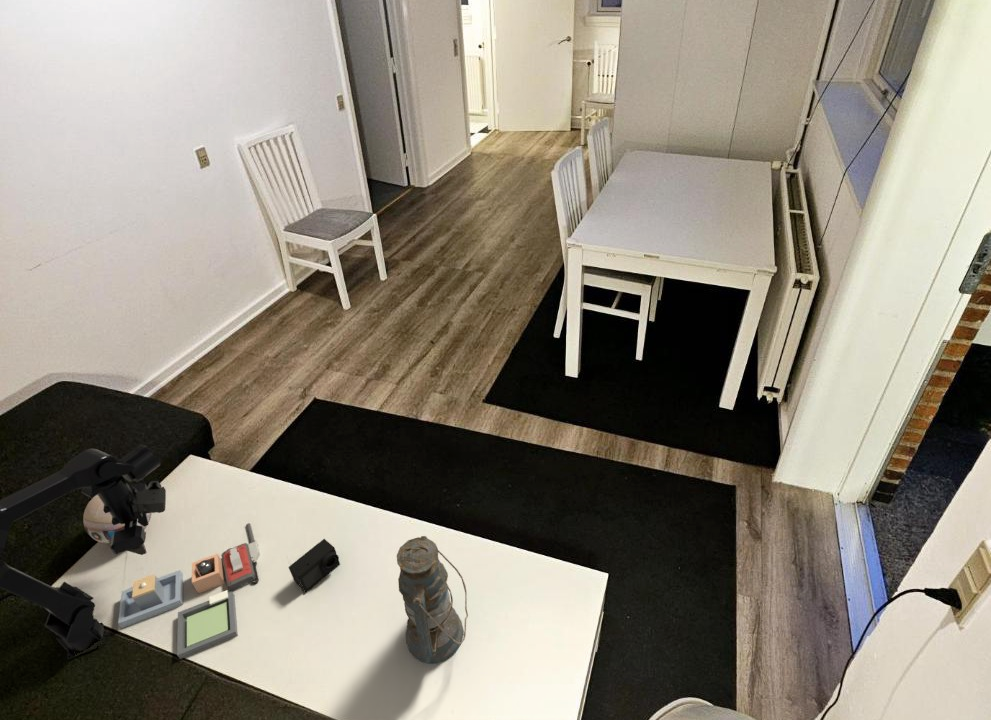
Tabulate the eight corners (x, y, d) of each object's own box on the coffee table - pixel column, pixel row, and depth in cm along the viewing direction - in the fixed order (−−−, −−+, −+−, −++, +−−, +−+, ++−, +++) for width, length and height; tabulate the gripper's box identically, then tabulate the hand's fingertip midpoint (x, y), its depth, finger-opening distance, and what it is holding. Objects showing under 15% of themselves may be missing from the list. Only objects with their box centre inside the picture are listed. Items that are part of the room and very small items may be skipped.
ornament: (96, 529, 155) (69, 492, 146) (155, 502, 162) (132, 465, 153) (103, 566, 145) (74, 529, 136) (165, 536, 152) (142, 498, 143)
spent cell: (205, 585, 138) (196, 570, 135) (205, 576, 140) (196, 561, 137) (217, 580, 139) (209, 566, 136) (217, 571, 141) (208, 557, 138)
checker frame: (181, 660, 124) (176, 654, 122) (181, 615, 132) (177, 609, 131) (238, 636, 127) (234, 630, 126) (235, 594, 136) (231, 588, 135)
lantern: (410, 595, 133) (390, 511, 116) (471, 592, 133) (459, 508, 116) (401, 681, 118) (375, 599, 100) (469, 678, 117) (456, 595, 100)
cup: (199, 594, 137) (191, 582, 134) (198, 575, 141) (191, 563, 138) (225, 584, 139) (218, 572, 136) (224, 565, 143) (217, 553, 140)
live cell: (142, 611, 133) (131, 596, 129) (144, 596, 137) (132, 580, 133) (163, 604, 135) (152, 588, 131) (164, 588, 138) (153, 573, 134)
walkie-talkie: (268, 581, 139) (253, 525, 154) (263, 570, 137) (248, 514, 151) (231, 598, 136) (219, 539, 150) (225, 587, 133) (214, 528, 148)
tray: (123, 629, 130) (118, 623, 129) (126, 597, 137) (121, 591, 136) (183, 606, 134) (179, 600, 133) (183, 575, 141) (180, 569, 140)
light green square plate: (188, 648, 125) (186, 646, 125) (188, 619, 131) (186, 617, 130) (229, 631, 128) (228, 629, 127) (227, 603, 134) (226, 601, 133)
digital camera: (308, 597, 135) (300, 579, 131) (295, 584, 138) (287, 567, 134) (343, 567, 141) (337, 549, 137) (330, 555, 144) (324, 538, 140)
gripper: (153, 511, 123) (181, 555, 132) (157, 457, 137) (181, 500, 146) (96, 530, 119) (128, 574, 128) (105, 472, 133) (133, 516, 142)
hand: (145, 539), depth 136 cm, fingers open, 9 cm apart
